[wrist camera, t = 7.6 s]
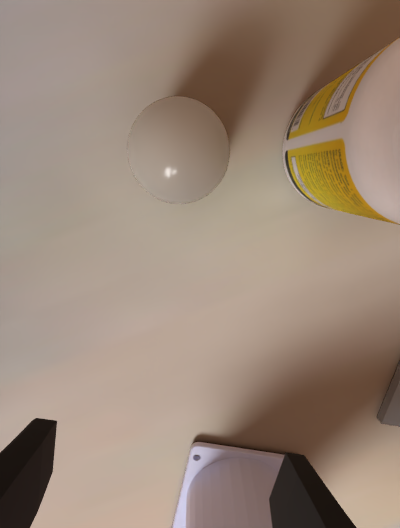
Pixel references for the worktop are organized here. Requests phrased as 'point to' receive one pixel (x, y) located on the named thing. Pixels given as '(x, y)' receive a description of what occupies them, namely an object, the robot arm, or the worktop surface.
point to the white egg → (178, 150)
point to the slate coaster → (391, 402)
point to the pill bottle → (351, 141)
